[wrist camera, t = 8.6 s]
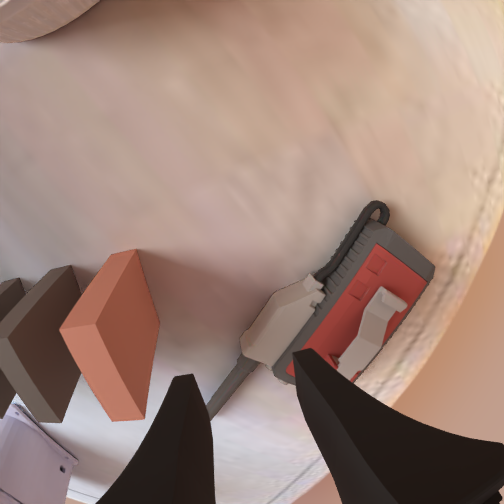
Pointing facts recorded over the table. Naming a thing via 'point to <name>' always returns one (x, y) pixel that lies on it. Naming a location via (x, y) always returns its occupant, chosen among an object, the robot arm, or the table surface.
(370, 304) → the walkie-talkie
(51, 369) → the domino
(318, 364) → the robot arm
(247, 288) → the table surface
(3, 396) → the domino
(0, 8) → the ramekin
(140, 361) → the red domino
